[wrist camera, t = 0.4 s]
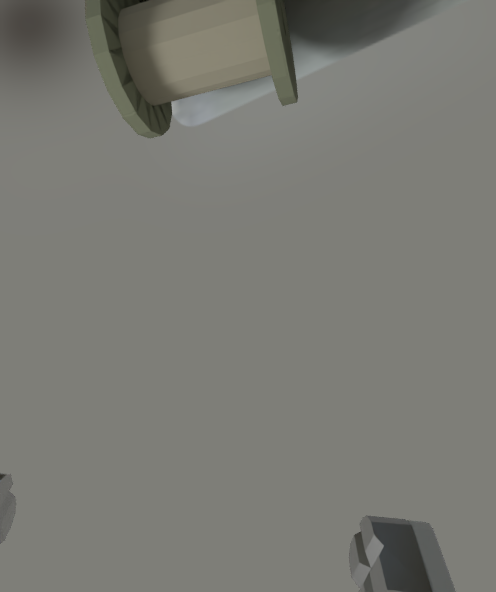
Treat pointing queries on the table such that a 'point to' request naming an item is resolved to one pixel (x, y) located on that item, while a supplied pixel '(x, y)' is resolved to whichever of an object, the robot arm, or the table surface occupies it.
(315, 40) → the table surface
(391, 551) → the robot arm
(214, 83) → the spool
